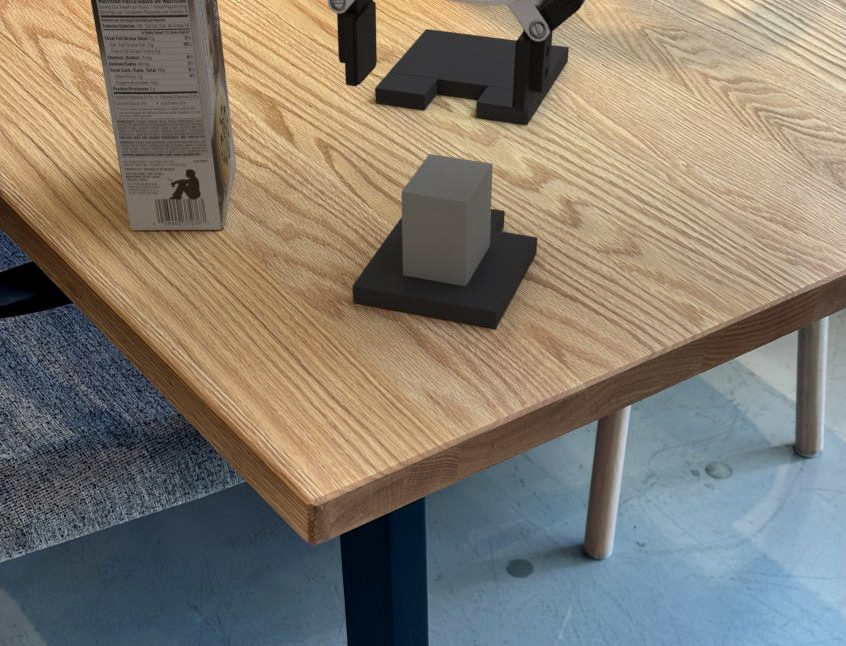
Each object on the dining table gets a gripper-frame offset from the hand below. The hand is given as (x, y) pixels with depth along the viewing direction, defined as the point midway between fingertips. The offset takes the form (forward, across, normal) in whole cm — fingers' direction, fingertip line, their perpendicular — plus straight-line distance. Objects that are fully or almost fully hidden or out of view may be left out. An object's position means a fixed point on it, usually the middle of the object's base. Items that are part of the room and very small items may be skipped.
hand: (442, 89), depth 74 cm
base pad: (+12, -6, +28) cm, 31 cm away
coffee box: (+13, -20, +4) cm, 24 cm away
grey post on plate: (+12, +1, +2) cm, 12 cm away
